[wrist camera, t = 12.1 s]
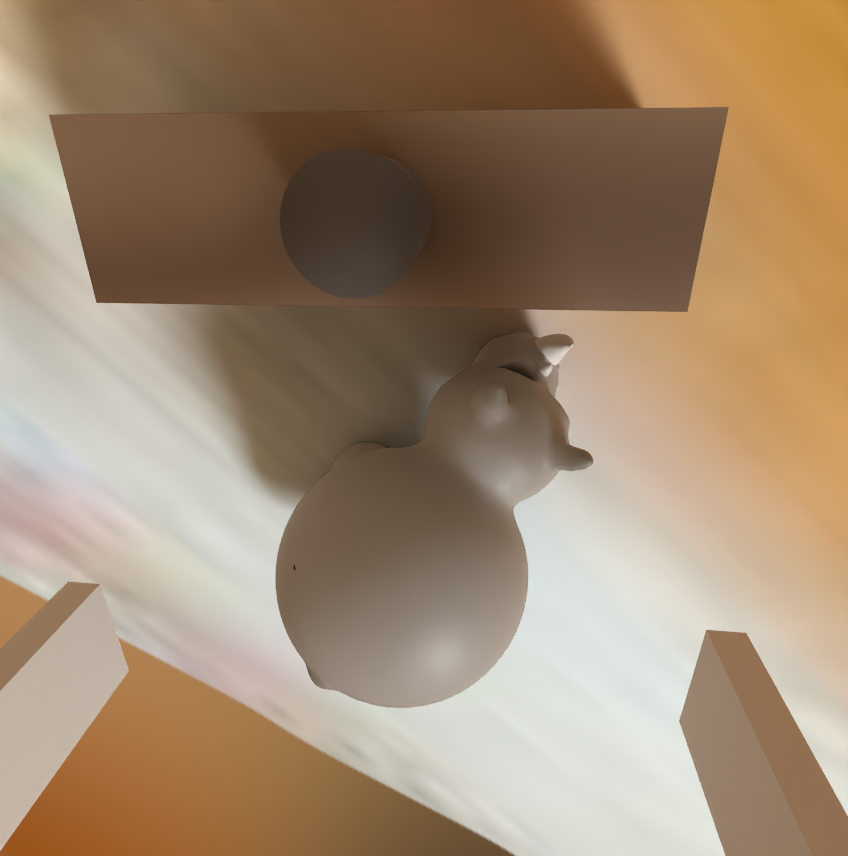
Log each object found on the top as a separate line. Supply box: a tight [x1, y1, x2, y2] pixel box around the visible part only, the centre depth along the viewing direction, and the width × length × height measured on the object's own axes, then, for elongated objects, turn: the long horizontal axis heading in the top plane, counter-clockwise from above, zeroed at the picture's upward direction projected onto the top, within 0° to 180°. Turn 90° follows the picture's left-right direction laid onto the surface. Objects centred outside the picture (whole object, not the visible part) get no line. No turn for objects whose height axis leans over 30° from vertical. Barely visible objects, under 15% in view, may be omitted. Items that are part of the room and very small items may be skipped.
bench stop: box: [49, 107, 728, 312], centre depth 13 cm, size 4×14×8 cm, turn 90°
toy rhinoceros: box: [276, 331, 593, 708], centre depth 17 cm, size 7×12×8 cm, turn 142°
